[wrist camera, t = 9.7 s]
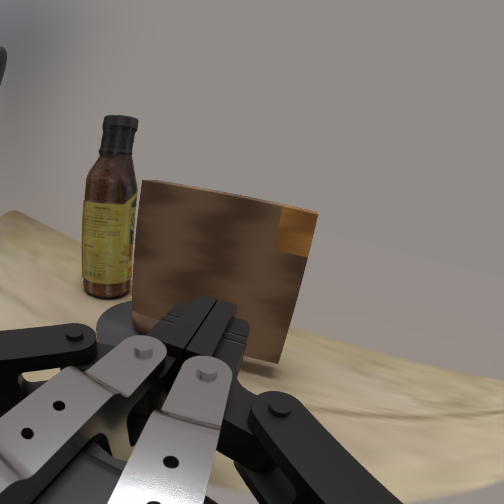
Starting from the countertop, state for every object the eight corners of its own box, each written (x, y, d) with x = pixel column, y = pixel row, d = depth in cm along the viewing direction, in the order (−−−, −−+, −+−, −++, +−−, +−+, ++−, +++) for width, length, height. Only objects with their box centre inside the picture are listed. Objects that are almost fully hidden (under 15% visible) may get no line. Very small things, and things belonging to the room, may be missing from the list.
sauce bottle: (139, 296, 31) (161, 119, 26) (90, 303, 27) (106, 109, 22) (119, 275, 35) (137, 122, 30) (76, 279, 31) (90, 116, 26)
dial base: (73, 346, 20) (71, 333, 19) (134, 300, 30) (134, 289, 30) (192, 396, 18) (193, 383, 18) (227, 328, 29) (229, 316, 29)
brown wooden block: (122, 325, 22) (131, 180, 19) (146, 305, 26) (159, 179, 23) (276, 372, 20) (319, 216, 17) (281, 343, 25) (315, 210, 22)
